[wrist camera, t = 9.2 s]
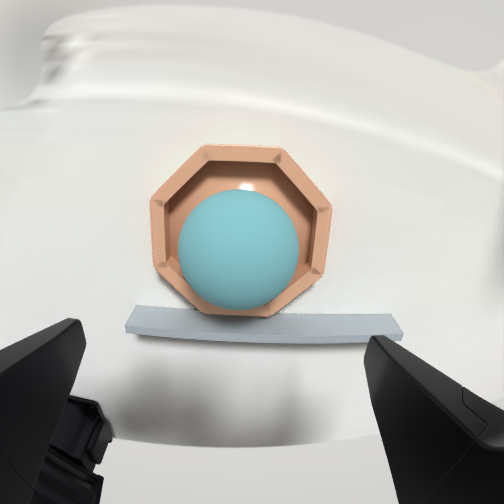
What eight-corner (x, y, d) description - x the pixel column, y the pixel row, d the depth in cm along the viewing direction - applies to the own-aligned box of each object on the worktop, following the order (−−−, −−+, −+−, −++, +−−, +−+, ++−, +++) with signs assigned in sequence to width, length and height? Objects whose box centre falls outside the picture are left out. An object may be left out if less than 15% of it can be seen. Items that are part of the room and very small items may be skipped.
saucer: (163, 298, 21) (157, 310, 20) (156, 144, 17) (149, 145, 16) (312, 305, 21) (316, 317, 20) (331, 151, 18) (337, 153, 16)
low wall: (137, 312, 21) (126, 332, 19) (136, 305, 21) (124, 325, 19) (389, 320, 22) (401, 340, 19) (391, 313, 22) (403, 333, 19)
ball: (190, 275, 20) (170, 330, 14) (188, 179, 18) (162, 202, 12) (286, 279, 20) (300, 335, 15) (294, 183, 18) (316, 208, 12)
